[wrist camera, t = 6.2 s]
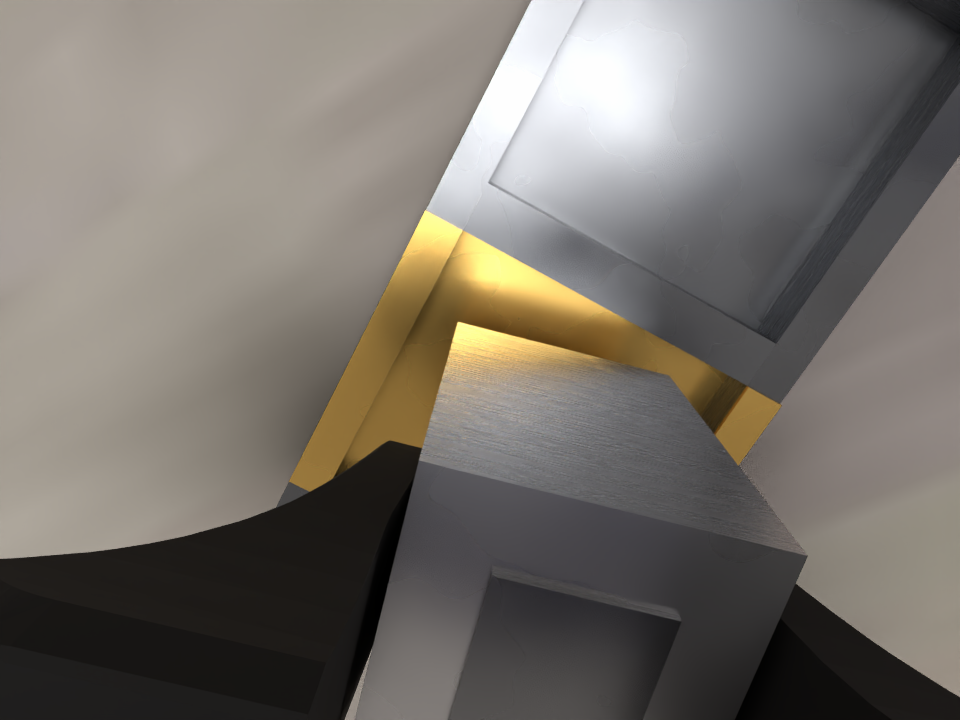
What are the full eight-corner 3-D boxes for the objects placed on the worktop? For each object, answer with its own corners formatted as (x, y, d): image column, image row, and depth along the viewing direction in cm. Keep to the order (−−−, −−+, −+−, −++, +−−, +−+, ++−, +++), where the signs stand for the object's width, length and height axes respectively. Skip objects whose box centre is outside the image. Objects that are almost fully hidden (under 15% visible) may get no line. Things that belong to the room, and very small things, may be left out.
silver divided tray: (1334, -447, 11) (1468, -544, 9) (582, 625, 17) (589, 670, 16) (926, -770, 10) (1001, -934, 9) (292, 483, 17) (271, 517, 15)
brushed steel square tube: (669, 375, 13) (811, 561, 7) (604, 559, 14) (680, 856, 8) (457, 322, 12) (417, 464, 7) (410, 512, 14) (339, 779, 8)
